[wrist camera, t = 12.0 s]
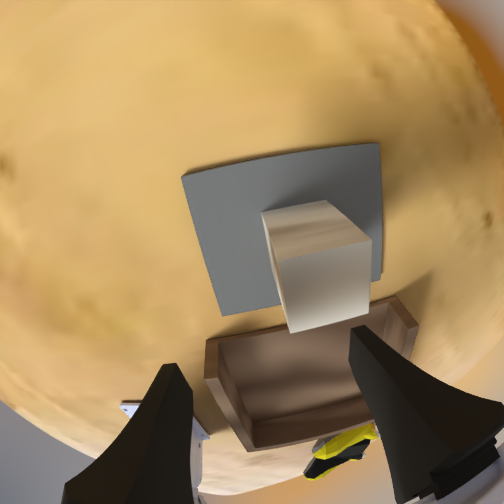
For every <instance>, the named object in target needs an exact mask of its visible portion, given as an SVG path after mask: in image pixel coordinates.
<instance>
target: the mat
mask: <svg viewBox="0 0 504 504" xmlns="http://www.w3.org/2000/svg"><path fill="white" fill-rule="evenodd" d="M181 179H182V183H183V187H184V191H185V194H186V198H187V202H188V205H189V209H190V213H191V216H192V220H193V223H194V227H195V230H196V234H197V237H198V240H199V244H200V247H201V250H202V254H203V257H204V260H205V264H206V267H207V270H208V273H209V277H210V280H211V283H212V286H213V289H214V292H215V295H216V298H217V301H218V304H219V308H220V311H221V314H222V316H227V315H233V314H238V313H243V312H248V311H253V310H258V309H263V308H268V307H272V306H277V305H282V303H281V300H280V296H279V293H278V289H277V286H276V282H275V279H274V276H273V272H272V268H271V262H270V257H269V252H268V246H267V241H266V235H265V230H264V225H263V219H262V214H261V212H265V211H270V210H275V209H280V208H285V207H290V206H295V205H300V204H306V203H311V202H316V201H322V200H327V201H328V202H329V203H330V204H332V205H333V206H334V207H335V208H336V209H338V210H339V211H340V212H341V213H342V214H343V215H345V216H346V217H347V218H348V219H349V220H350V221H352V222H353V223H354V224H355V225H356V226H357V227H358V228H359V229H361V230H362V231H363V232H364V233H365V234H366V235H367V236H368V237H369V238H371V239H372V262H371V282H375V281H378V280H380V277H381V260H382V180H381V163H380V151H379V143H366V144H355V145H346V146H337V147H329V148H321V149H313V150H306V151H300V152H293V153H287V154H281V155H275V156H269V157H264V158H259V159H253V160H248V161H243V162H239V163H234V164H229V165H225V166H220V167H216V168H211V169H207V170H203V171H199V172H195V173H191V174H187V175H183V176H182V177H181Z"/></svg>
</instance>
